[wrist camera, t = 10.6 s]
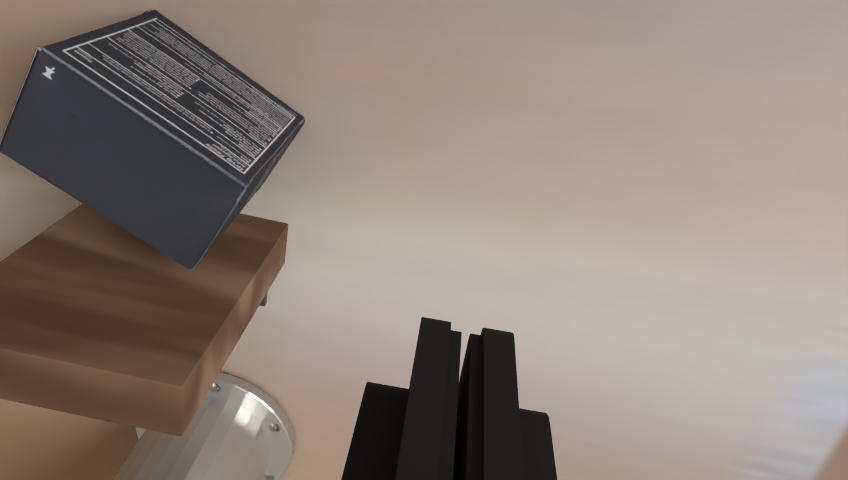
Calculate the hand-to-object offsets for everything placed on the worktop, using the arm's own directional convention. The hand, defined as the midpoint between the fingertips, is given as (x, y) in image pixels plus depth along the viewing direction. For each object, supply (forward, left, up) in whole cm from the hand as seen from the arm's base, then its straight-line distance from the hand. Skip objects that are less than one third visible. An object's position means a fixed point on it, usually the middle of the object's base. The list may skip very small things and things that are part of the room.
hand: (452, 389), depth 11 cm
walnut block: (-14, +16, -27) cm, 34 cm away
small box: (-5, +15, -27) cm, 32 cm away
